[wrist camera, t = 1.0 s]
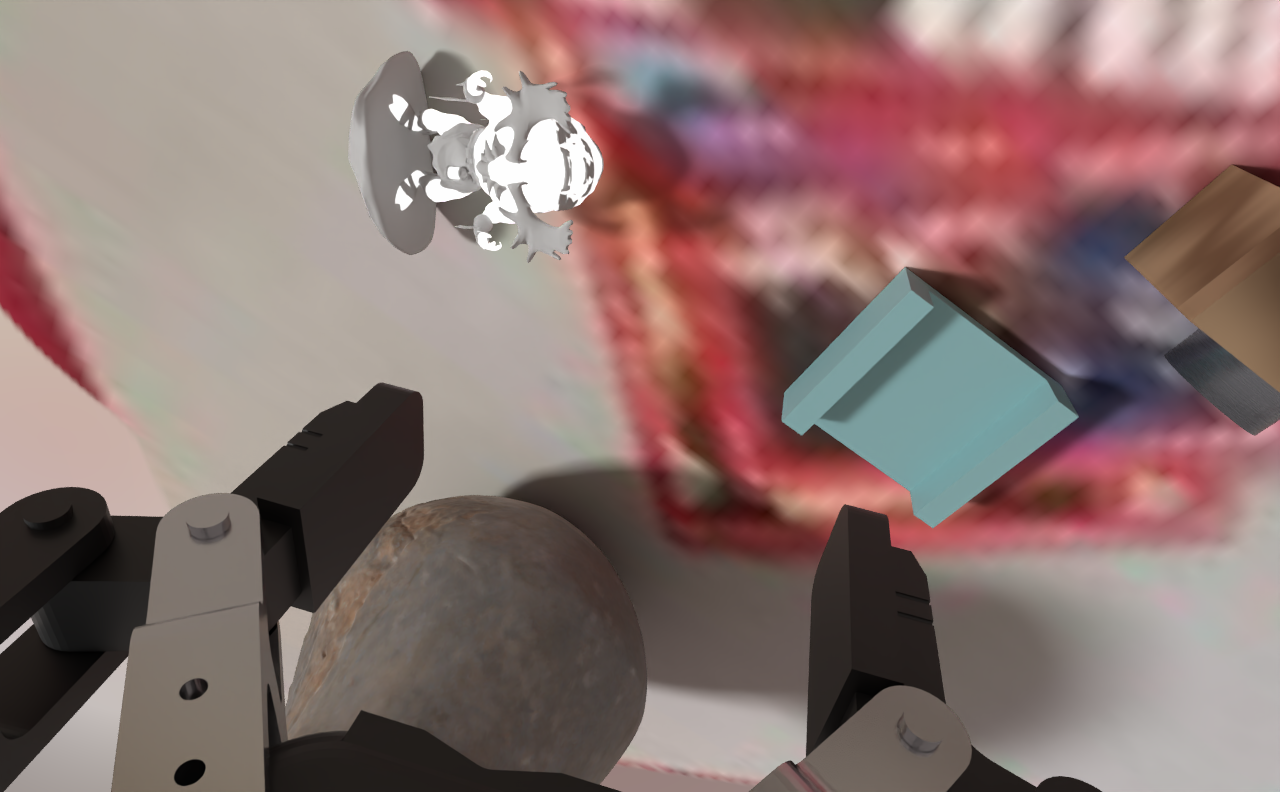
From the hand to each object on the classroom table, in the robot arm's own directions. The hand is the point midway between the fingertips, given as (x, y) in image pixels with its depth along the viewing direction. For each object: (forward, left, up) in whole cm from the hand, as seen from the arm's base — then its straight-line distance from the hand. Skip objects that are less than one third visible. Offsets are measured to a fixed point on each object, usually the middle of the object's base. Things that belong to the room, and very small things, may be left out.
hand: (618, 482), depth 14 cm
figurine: (+6, -10, -25) cm, 28 cm away
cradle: (+3, +14, -25) cm, 28 cm away
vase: (+29, +4, -25) cm, 38 cm away
